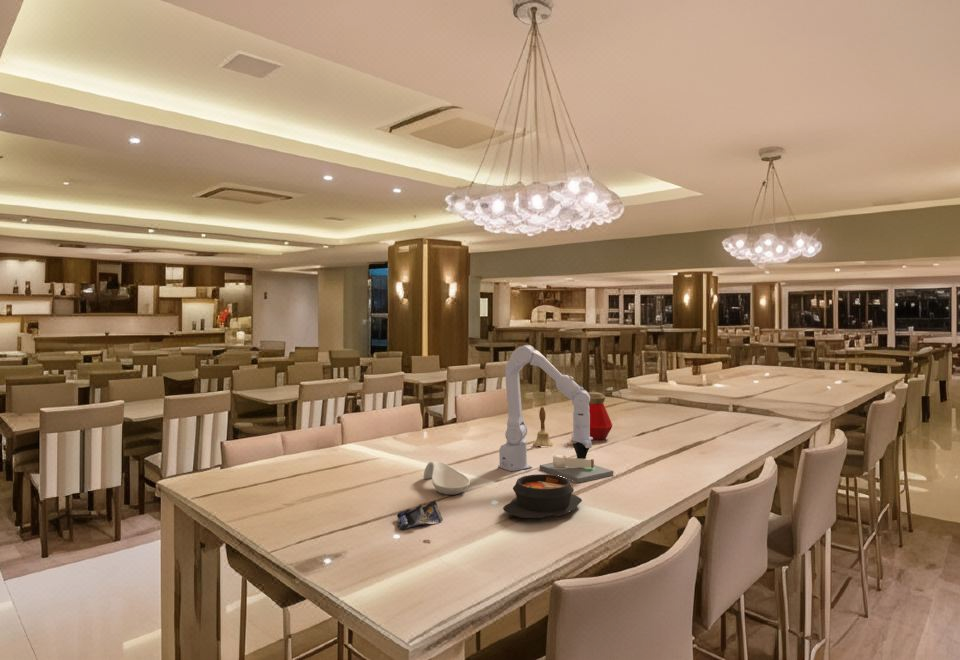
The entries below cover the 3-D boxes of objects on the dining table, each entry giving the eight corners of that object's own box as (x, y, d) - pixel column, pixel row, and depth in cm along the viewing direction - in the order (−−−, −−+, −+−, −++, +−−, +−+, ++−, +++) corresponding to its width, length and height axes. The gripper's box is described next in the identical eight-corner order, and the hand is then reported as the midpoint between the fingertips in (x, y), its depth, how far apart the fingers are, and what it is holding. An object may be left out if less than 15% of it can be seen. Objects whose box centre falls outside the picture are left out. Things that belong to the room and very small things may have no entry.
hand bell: (546, 448, 237) (546, 409, 236) (529, 445, 242) (529, 407, 241) (556, 444, 244) (556, 406, 243) (539, 441, 249) (539, 405, 248)
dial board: (578, 482, 188) (578, 478, 188) (539, 469, 205) (539, 464, 205) (613, 475, 197) (613, 470, 197) (573, 462, 213) (573, 458, 213)
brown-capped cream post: (552, 466, 200) (552, 457, 200) (554, 463, 205) (553, 454, 204) (593, 469, 197) (593, 460, 197) (594, 466, 201) (594, 456, 201)
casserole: (548, 493, 177) (547, 466, 177) (597, 508, 164) (597, 479, 163) (488, 512, 161) (487, 483, 161) (537, 531, 147) (537, 498, 147)
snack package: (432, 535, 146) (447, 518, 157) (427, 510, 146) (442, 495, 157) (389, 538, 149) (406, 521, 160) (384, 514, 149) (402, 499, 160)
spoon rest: (476, 494, 177) (476, 471, 177) (441, 501, 172) (441, 477, 172) (444, 476, 198) (444, 455, 198) (412, 481, 193) (412, 459, 193)
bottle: (617, 437, 256) (617, 392, 256) (606, 443, 245) (606, 396, 244) (584, 433, 265) (583, 390, 264) (572, 439, 253) (572, 393, 253)
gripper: (600, 428, 195) (600, 468, 195) (584, 421, 209) (584, 458, 210) (580, 429, 194) (580, 469, 194) (566, 421, 208) (566, 459, 208)
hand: (581, 463), depth 202 cm, fingers closed
